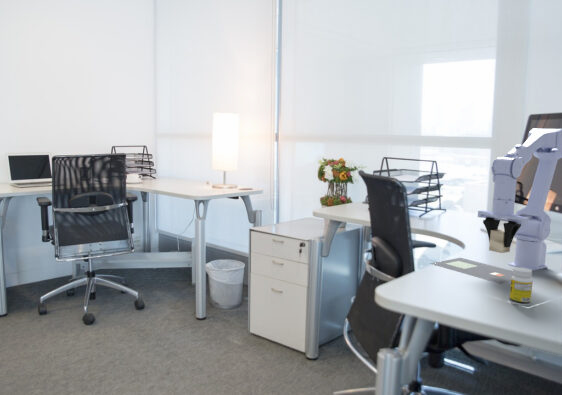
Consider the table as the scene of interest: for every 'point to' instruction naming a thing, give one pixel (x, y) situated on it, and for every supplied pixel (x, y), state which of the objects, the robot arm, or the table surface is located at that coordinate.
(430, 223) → the table surface
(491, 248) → the birch block
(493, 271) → the mat
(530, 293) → the supplement bottle
